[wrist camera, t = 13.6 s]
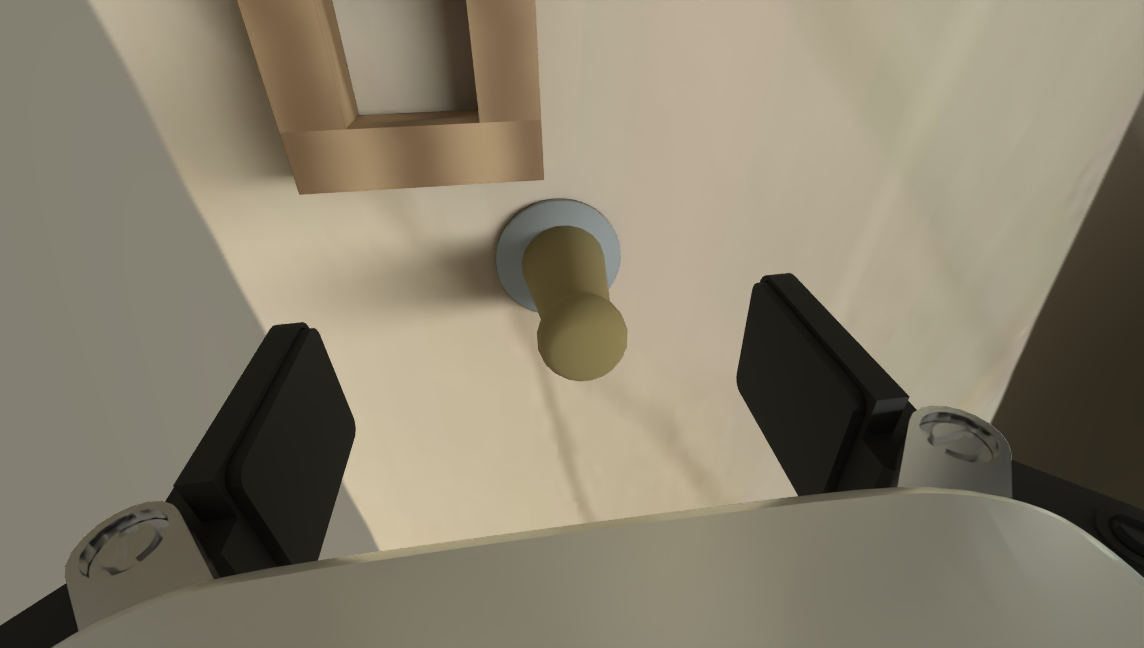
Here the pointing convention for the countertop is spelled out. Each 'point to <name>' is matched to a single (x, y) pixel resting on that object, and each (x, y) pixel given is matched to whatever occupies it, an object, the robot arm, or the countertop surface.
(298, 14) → the socket ring
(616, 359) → the cork
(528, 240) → the coaster
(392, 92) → the countertop surface
